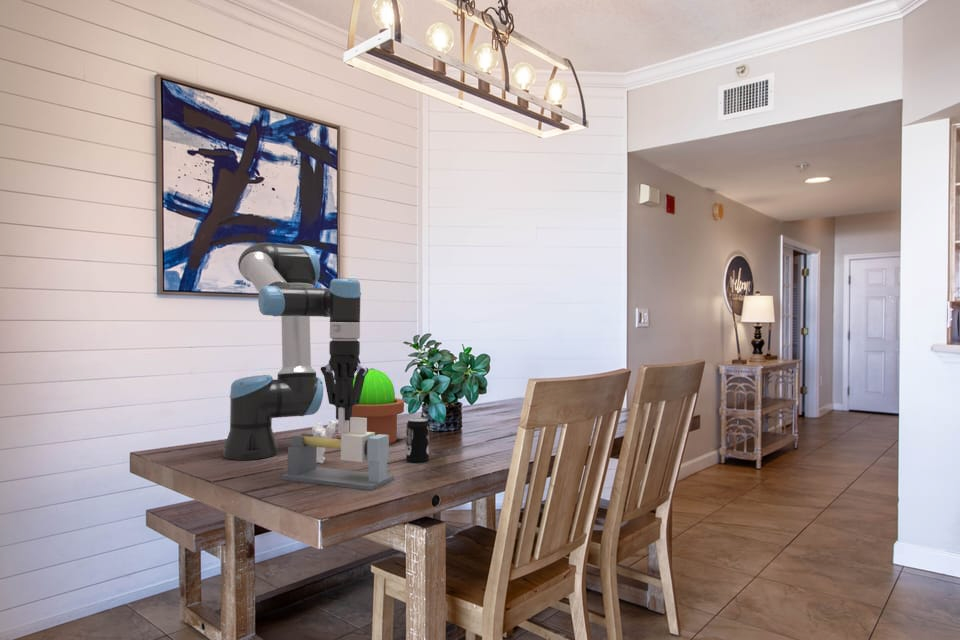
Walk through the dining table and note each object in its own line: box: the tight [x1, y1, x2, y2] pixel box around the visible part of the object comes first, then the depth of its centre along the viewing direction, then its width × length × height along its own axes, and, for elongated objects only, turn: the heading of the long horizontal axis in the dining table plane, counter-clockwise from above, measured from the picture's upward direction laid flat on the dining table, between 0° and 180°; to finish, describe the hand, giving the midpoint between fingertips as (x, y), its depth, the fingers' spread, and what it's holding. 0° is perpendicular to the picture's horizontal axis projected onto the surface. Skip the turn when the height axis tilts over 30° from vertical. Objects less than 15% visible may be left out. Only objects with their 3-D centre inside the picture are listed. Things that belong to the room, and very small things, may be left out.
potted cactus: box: [348, 367, 405, 445], centre depth 204 cm, size 22×22×25 cm
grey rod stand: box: [281, 432, 395, 491], centre depth 155 cm, size 26×11×12 cm, turn 69°
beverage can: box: [405, 417, 430, 464], centre depth 177 cm, size 7×7×12 cm
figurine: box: [311, 419, 338, 464], centre depth 175 cm, size 10×5×12 cm, turn 52°
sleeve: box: [340, 417, 375, 463], centre depth 153 cm, size 6×6×10 cm
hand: (343, 432), depth 154 cm, fingers closed
